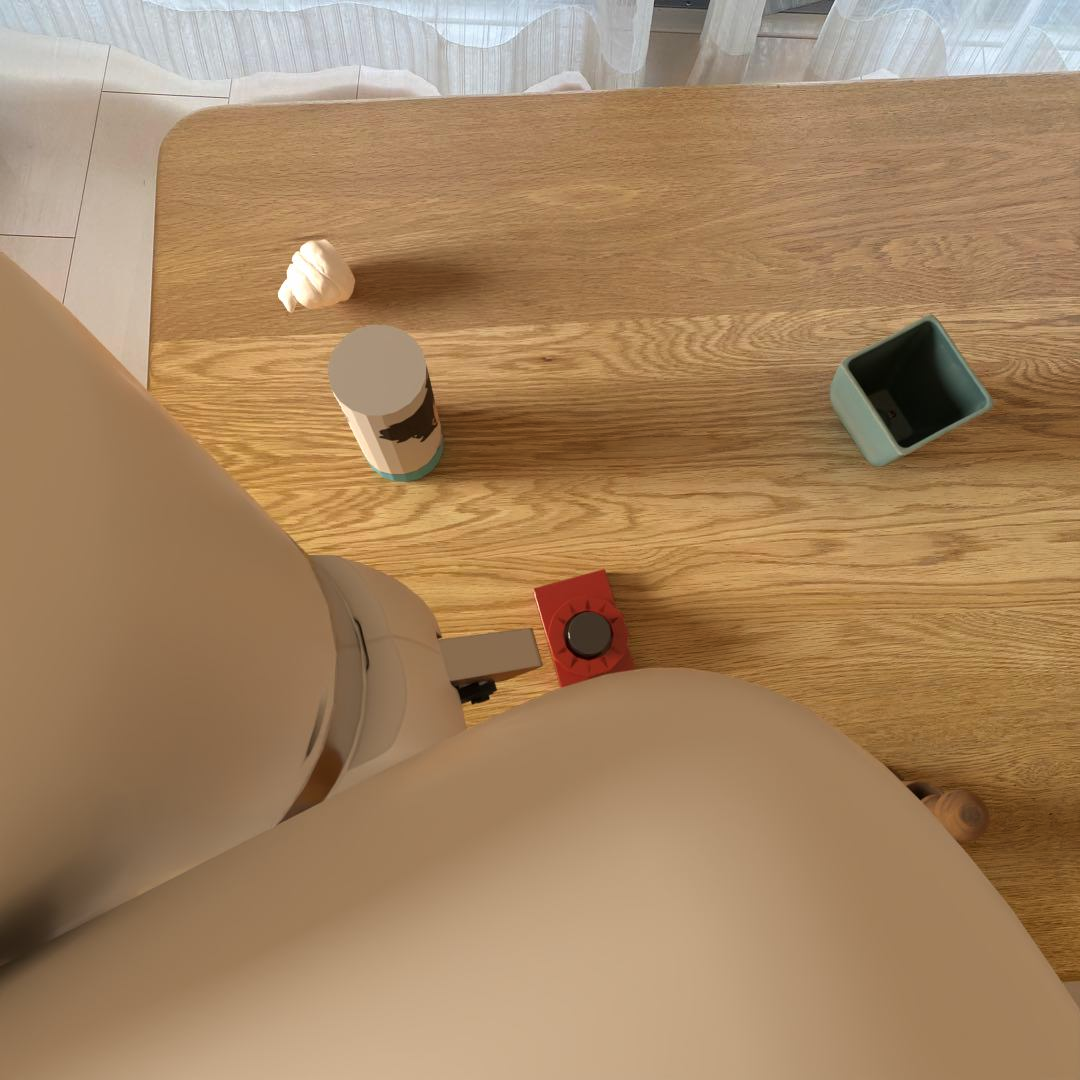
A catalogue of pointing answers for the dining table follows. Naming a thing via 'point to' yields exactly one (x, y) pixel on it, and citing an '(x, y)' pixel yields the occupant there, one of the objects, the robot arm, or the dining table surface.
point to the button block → (557, 614)
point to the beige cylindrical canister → (388, 401)
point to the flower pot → (906, 392)
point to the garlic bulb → (316, 277)
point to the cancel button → (588, 634)
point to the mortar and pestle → (952, 808)
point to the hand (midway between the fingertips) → (336, 727)
